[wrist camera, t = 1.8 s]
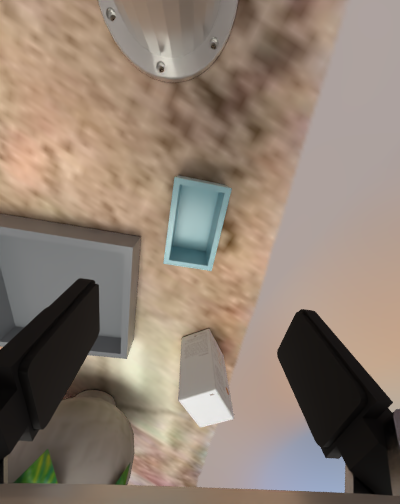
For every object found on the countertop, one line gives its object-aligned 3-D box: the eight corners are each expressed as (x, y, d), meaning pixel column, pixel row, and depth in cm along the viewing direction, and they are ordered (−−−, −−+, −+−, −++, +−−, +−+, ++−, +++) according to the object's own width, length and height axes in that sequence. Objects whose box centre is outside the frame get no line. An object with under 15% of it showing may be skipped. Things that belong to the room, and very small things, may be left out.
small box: (181, 336, 35) (176, 400, 25) (209, 327, 34) (216, 389, 25) (197, 363, 38) (199, 429, 28) (224, 355, 37) (234, 420, 28)
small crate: (178, 175, 24) (174, 177, 19) (224, 184, 24) (231, 188, 20) (168, 247, 28) (163, 263, 23) (208, 254, 28) (211, 270, 24)
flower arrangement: (45, 428, 46) (-95, 676, 23) (24, 356, 36) (-254, 669, 14) (150, 433, 48) (112, 663, 26) (157, 367, 38) (106, 649, 16)
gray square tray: (-15, 211, 25) (-50, 218, 21) (141, 236, 27) (132, 247, 23) (15, 325, 33) (-8, 345, 29) (133, 338, 35) (126, 358, 31)
